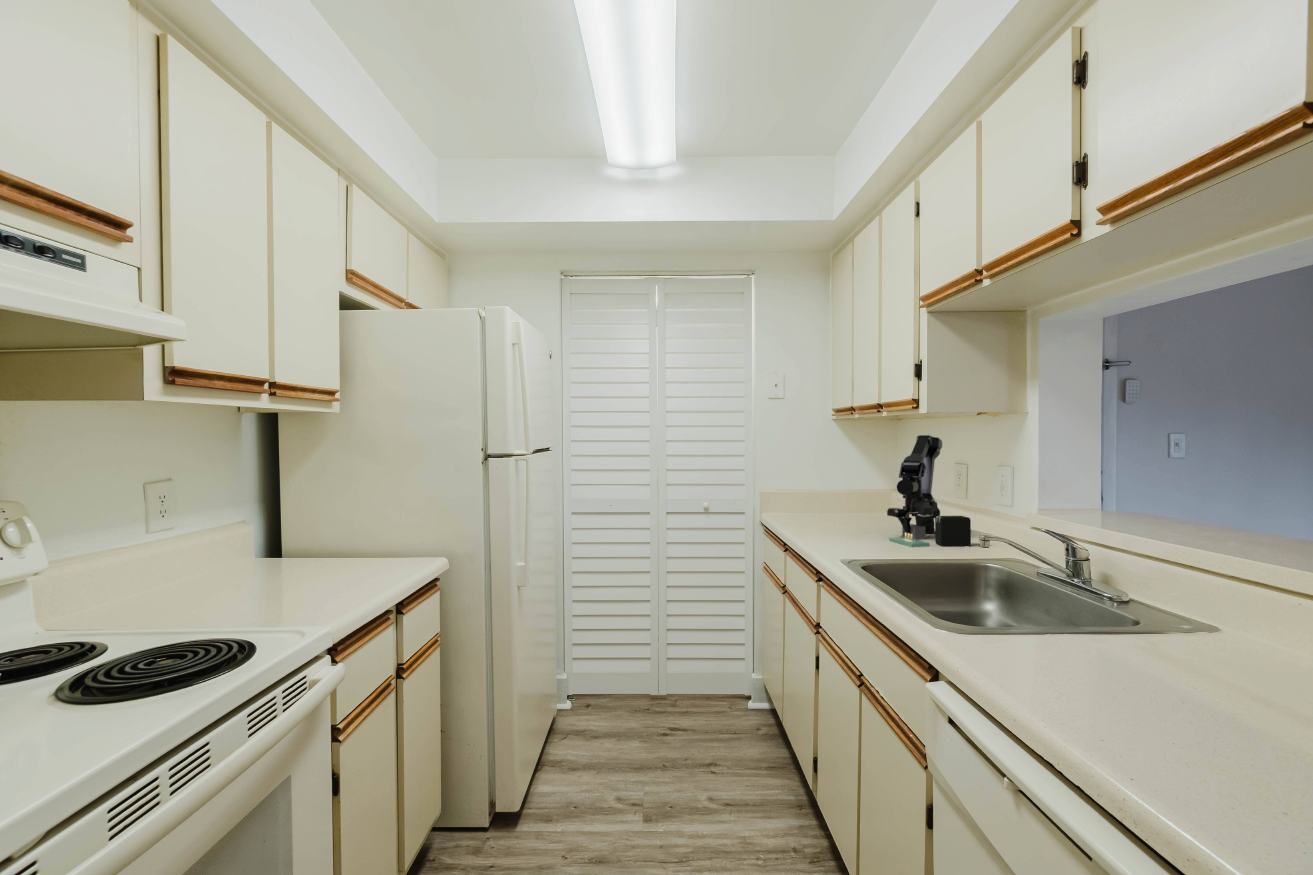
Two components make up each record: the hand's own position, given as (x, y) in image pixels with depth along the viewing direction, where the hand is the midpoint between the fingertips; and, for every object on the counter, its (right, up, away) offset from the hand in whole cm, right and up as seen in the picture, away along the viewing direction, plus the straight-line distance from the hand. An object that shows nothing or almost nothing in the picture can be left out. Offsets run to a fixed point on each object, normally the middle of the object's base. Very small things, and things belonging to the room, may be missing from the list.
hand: (913, 534), depth 200 cm
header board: (-7, -1, -11) cm, 13 cm away
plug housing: (0, -1, 0) cm, 1 cm away
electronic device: (+6, -1, -15) cm, 16 cm away
